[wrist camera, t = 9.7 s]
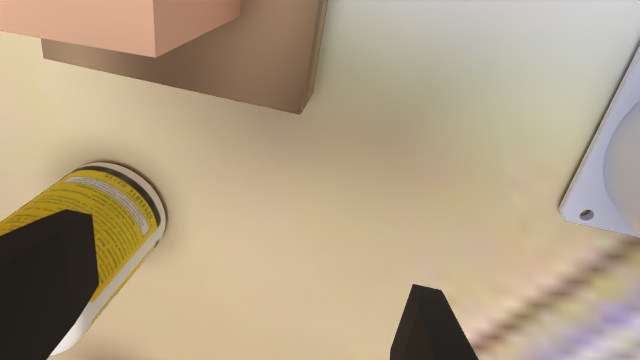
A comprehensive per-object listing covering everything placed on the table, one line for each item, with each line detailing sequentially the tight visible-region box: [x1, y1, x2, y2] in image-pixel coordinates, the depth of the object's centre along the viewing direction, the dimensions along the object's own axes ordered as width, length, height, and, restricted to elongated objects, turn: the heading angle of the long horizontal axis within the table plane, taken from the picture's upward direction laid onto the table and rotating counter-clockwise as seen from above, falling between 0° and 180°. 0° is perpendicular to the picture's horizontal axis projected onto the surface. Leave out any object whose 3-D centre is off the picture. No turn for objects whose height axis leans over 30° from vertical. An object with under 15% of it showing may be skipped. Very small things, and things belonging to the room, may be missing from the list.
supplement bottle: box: [0, 162, 166, 356], centre depth 19 cm, size 5×5×10 cm
